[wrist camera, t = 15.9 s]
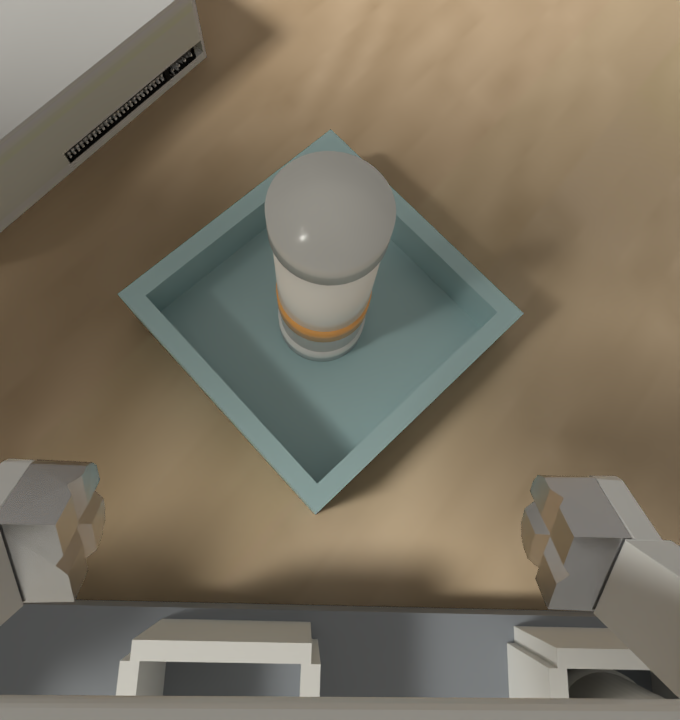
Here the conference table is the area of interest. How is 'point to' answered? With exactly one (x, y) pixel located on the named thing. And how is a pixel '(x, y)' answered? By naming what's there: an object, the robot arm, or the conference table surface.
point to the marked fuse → (327, 248)
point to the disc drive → (81, 82)
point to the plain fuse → (605, 685)
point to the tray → (311, 378)
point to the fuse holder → (304, 651)
